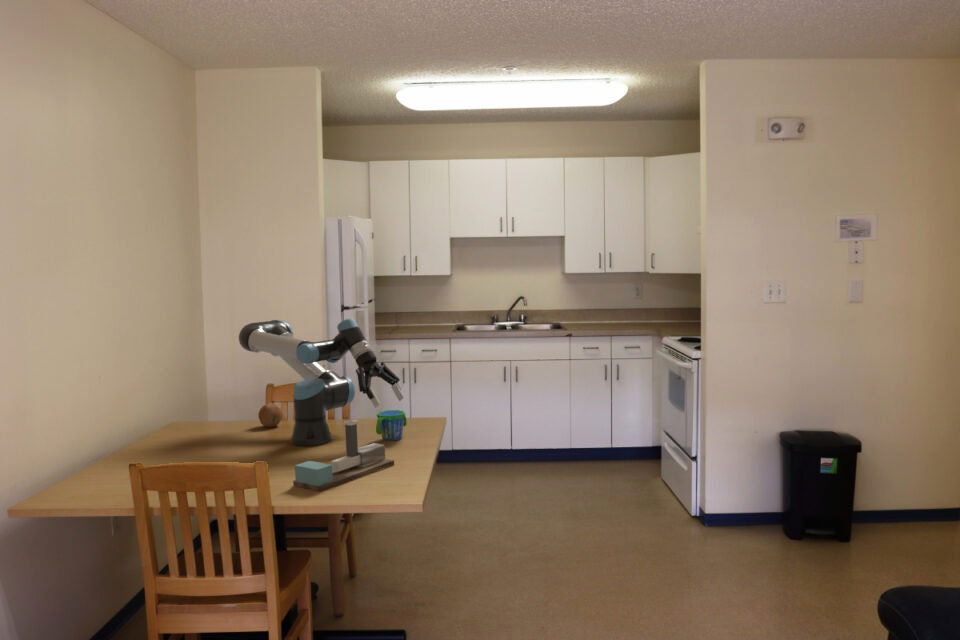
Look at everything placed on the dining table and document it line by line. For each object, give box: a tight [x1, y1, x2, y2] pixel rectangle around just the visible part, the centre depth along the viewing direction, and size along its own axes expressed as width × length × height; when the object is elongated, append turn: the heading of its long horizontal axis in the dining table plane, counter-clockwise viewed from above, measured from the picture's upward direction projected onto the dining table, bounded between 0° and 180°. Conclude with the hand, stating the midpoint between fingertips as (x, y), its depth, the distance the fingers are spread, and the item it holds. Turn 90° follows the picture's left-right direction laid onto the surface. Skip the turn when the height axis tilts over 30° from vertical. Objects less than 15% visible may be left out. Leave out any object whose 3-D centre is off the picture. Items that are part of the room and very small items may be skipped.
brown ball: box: [258, 402, 283, 428], centre depth 325 cm, size 10×10×10 cm
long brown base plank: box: [292, 442, 395, 492], centre depth 251 cm, size 12×34×6 cm, turn 145°
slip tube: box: [330, 419, 361, 472], centre depth 255 cm, size 3×22×14 cm, turn 145°
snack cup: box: [375, 409, 408, 441], centre depth 298 cm, size 16×10×10 cm
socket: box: [294, 460, 333, 486], centre depth 239 cm, size 10×6×5 cm, turn 55°
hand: (390, 402), depth 291 cm, fingers open, 13 cm apart
